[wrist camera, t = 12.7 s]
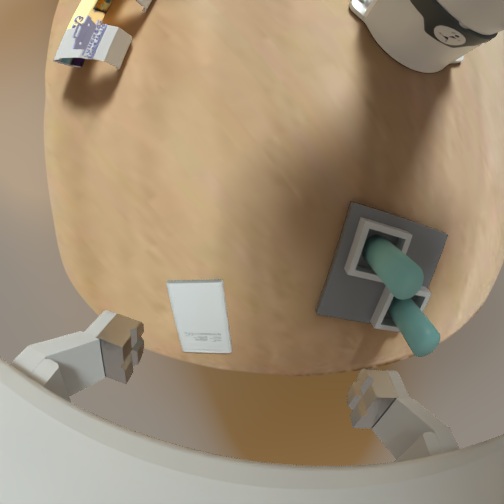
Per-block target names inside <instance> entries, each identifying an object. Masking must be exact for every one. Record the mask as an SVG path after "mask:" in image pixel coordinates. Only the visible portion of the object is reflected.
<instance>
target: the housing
mask: <svg viewBox="0 0 504 504" xmlns="http://www.w3.org/2000/svg"><path fill="white" fill-rule="evenodd" d="M374 235H381V236H383V237H385V238H386V239H387V240H389V241H390V242H391V243H392V244H393V245H395V246H396V247H397V248H398V249H400V250H401V251H402V252H403V253H404V254H405V255H407V256H408V257H409V258H410V259H411V260H413V261H414V262H415V263H416V264H417V265H418V266H419V267H420V268H421V269H422V271H423V274H424V280H423V284H422V286H421V288H420V290H419V291H418V292H417V293H416V294H415V295H414V296H413V297H411V298H409V299H405V300H401V299H397V298H396V297H394V296H393V294H392V293H391V292H390V290H389V289H388V288H387V287H386V285H385V284H384V283H383V281H382V280H381V279H380V278H379V276H378V275H377V274H376V273H375V271H374V270H373V269H372V268H371V266H370V265H369V264H368V263H367V261H366V260H365V259H364V257H363V254H362V250H363V247H364V244H365V242H366V240H367V239H368V238H370V237H371V236H374ZM447 236H448V235H447V234H446V233H444V232H441V231H438V230H436V229H433V228H430V227H428V226H425V225H422V224H419V223H417V222H414V221H411V220H408V219H405V218H402V217H399V216H396V215H393V214H390V213H387V212H384V211H381V210H378V209H375V208H371V207H368V206H365V205H362V204H358V203H355V202H352V201H351V202H350V206H349V209H348V213H347V216H346V220H345V223H344V227H343V230H342V233H341V236H340V240H339V243H338V246H337V249H336V252H335V255H334V258H333V262H332V265H331V268H330V271H329V273H328V276H327V279H326V282H325V285H324V288H323V291H322V294H321V296H320V299H319V302H318V305H317V307H316V313H317V314H319V315H324V316H329V317H335V318H340V319H346V320H352V321H358V322H363V323H369V324H372V326H373V328H374V329H381V330H388V331H395V332H401V333H402V335H403V337H404V338H405V340H406V342H407V343H408V345H409V347H410V348H411V350H412V352H413V353H414V355H415V356H418V357H422V356H426V355H428V354H430V353H431V352H432V351H433V350H434V349H435V348H436V347H437V345H438V344H439V341H440V334H439V332H438V331H437V330H436V328H435V327H434V326H433V325H432V323H431V322H430V321H429V319H428V318H427V317H426V316H425V314H424V313H423V311H424V308H425V306H426V304H427V302H428V300H429V298H430V296H431V292H430V291H429V290H428V289H427V288H428V286H429V284H430V281H431V279H432V277H433V274H434V272H435V269H436V267H437V264H438V261H439V259H440V256H441V253H442V251H443V248H444V245H445V242H446V239H447Z"/></svg>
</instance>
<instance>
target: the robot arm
mask: <svg viewBox="0 0 504 504" xmlns="http://www.w3.org/2000/svg"><path fill="white" fill-rule="evenodd" d="M359 1H361V2H362V3H360V2H359ZM349 7H350V9H351V10H352V12H353V13H355V14H356V15H357V16H358V17H359V18H360V19H361V20H362V21H364V23H365V24H366V25H367V27H368V29H369V31H370V32H371V34H372V36H373V37H374V39H375V40H376V42H377V43H378V44H379V45H380V46H381V47H382V49H383V50H384V51H385V52H387V53H388V54H389V55H390V56H391V57H392V58H394V59H395V60H396V61H398V62H399V63H401V64H403V65H404V66H406V67H408V68H410V69H413V70H416V71H419V72H424V73H434V72H438V71H440V70H442V69H444V68H445V67H446V66H447V65H448V64H450V63H459V62H461V61H463V60H464V55H465V54H467V53H468V52H470V51H472V50H473V49H475V48H476V47H478V46H480V45H481V43H486V42H488V41H490V40H491V39H492V38H494V37H495V36H496V35H497V34H498V32H500V31H502V30H504V0H351V2H350V4H349ZM143 332H144V324H143V323H142V322H140V321H137V320H134V319H131V318H128V317H126V316H123V315H120V314H117V313H114V312H112V311H109V310H105V311H104V312H103V313H102V314H101V315H100V316H99V317H98V318H97V319H96V320H95V321H94V322H93V323H92V324H91V325H90V326H89V327H88V328H87V330H86V331H85V332H81V331H79V332H76V333H72V334H69V335H65V336H62V337H58V338H54V339H51V340H47V341H43V342H40V343H36V344H32V345H29V346H28V347H26V348H25V349H24V351H22V353H20V354H19V356H17V357H16V358H15V359H14V360H13V362H12V363H11V364H9V363H8V362H6V361H5V360H4V359H2V358H1V357H0V504H504V434H503V435H500V436H498V437H495V438H492V439H489V440H486V441H484V442H481V443H478V444H475V445H471V446H468V447H465V448H461V449H459V447H458V444H457V442H456V440H455V438H454V435H453V433H452V431H451V429H450V427H448V426H447V425H446V424H444V423H443V422H442V421H440V420H439V419H438V418H437V417H436V416H434V415H433V414H432V413H431V412H429V411H428V410H427V409H425V408H424V407H423V406H422V405H421V404H419V403H418V402H417V401H416V400H414V399H413V398H410V397H409V395H408V393H407V391H406V388H405V386H404V384H403V382H402V380H401V378H400V376H399V374H398V372H397V371H395V370H375V369H374V370H373V369H362V370H361V371H360V372H359V374H358V375H357V378H358V380H357V381H356V382H354V383H353V384H352V385H351V387H350V388H349V391H348V395H347V403H348V406H349V408H350V409H351V410H352V413H351V414H350V417H351V421H352V426H353V428H372V430H373V432H374V433H375V434H376V435H377V436H378V438H379V439H380V440H381V441H382V442H383V444H384V445H385V446H386V447H387V448H388V450H389V451H390V452H391V453H392V455H393V456H394V457H395V458H396V461H394V462H390V463H381V464H369V465H354V466H303V465H287V464H275V463H265V462H258V461H250V460H244V459H238V458H232V457H227V456H221V455H216V454H211V453H207V452H202V451H198V450H195V449H190V448H187V447H183V446H180V445H176V444H173V443H169V442H166V441H163V440H160V439H156V438H153V437H150V436H148V435H144V434H141V433H139V432H136V431H133V430H131V429H128V428H126V427H123V426H121V425H118V424H116V423H114V422H111V421H109V420H107V419H104V418H102V417H100V416H97V415H95V414H93V413H91V412H89V411H87V410H85V409H83V408H81V407H79V406H77V405H75V404H73V403H71V401H70V398H69V396H71V395H73V394H75V393H77V392H79V391H81V390H83V389H85V388H87V387H89V386H91V385H92V384H94V383H96V382H98V381H100V380H102V379H104V378H105V376H106V377H108V378H111V379H114V380H116V381H119V382H122V383H124V384H126V383H127V382H128V380H129V378H130V377H131V375H132V373H133V366H135V365H137V364H138V363H139V361H140V359H141V357H142V353H143V349H144V340H143V339H142V337H141V335H142V334H143Z"/></svg>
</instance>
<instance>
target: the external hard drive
mask: <svg viewBox="0 0 504 504" xmlns="http://www.w3.org/2000/svg"><path fill="white" fill-rule="evenodd" d="M166 285H167V289H168V294H169V298H170V303H171V307H172V311H173V315H174V319H175V323H176V327H177V331H178V335H179V339H180V342H181V346H182V350H183V351H184V352H200V353H232V343H231V336H230V329H229V322H228V315H227V308H226V300H225V293H224V286H223V279H214V280H175V281H167V283H166Z"/></svg>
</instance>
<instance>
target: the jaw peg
mask: <svg viewBox="0 0 504 504" xmlns="http://www.w3.org/2000/svg"><path fill="white" fill-rule="evenodd" d="M362 254H363V257H364V259H365V260H366V261H367V263H368V264H369V265H370V266H371V268H372V269H373V270H374V271H375V273H376V274H377V275H378V276H379V278H380V279H381V280H382V281H383V283H384V284H385V285H386V287H387V288H388V289H389V290H390V292H391V293H392V294H393V296H394V297H396V298H397V299H401V300H405V299H409V298H411V297H413V296H414V295H415V294H416V293H417V292H418V291H419V290H420V288H421V286H422V284H423V280H424V274H423V271H422V269H421V268H420V267H419V266H418V265H417V264H416V263H415V262H414V261H413V260H411V259H410V258H409V257H408V256H407V255H405V254H404V253H403V252H402V251H401V250H400V249H398V248H397V247H396V246H395V245H393V244H392V243H391V242H390V241H389V240H387V239H386V238H385V237H383V236H381V235H374V236H371V237H370V238H368V239H367V240H366V242H365V244H364V247H363V250H362Z"/></svg>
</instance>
